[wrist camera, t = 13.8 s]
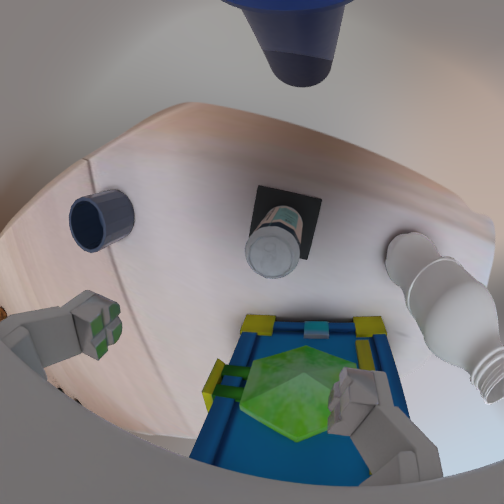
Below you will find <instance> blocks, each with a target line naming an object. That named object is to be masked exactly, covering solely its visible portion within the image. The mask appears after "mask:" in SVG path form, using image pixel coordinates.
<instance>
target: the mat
mask: <svg viewBox="0 0 504 504" xmlns="http://www.w3.org/2000/svg"><path fill="white" fill-rule="evenodd" d="M321 202H322V199H318V198H314V197H310V196H306V195H301V194H297V193H292V192H288V191H283V190H279V189H274V188H269V187H264V186H258V188H257V194H256V200H255V205H254V211H253V216H252V222H251V228H250V233H249V237H250V236H251V235H252V233H253V232H254V231H255V229H256V228H257V227H258V225H259V224H260V223H261V221H262V220H263V219H264V217H265V216H266V215H267V213H268V212H269V211H270V210H271V209H273V208H275V207H278V206H288V207H291V208H293V209H294V210H296V211H297V212H298V213H299V215H300V216H301V219H302V222H303V227H302V235H301V245H300V257H299V258H301V259H305V260H307V259H308V255H309V251H310V247H311V243H312V239H313V235H314V231H315V227H316V223H317V219H318V215H319V210H320V206H321Z"/></svg>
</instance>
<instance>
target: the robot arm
mask: <svg viewBox="0 0 504 504" xmlns="http://www.w3.org/2000/svg"><path fill="white" fill-rule="evenodd" d="M120 313H121V312H120V305H119V304H118V303H117V302H115V301H113V300H110V299H108V298H106V297H104V296H101V295H99V294H97V293H94V292H92V291H90V290H85V291H83V292H82V293H81V294H79V295H78V296H76V297H75V298H73V299H72V300H70V301H69V302H68V303H66V304H65V305H63V306H62V307H61V308H60V307H59V306H57V307H51V308H46V309H40V310H35V311H29V312H24V313H18V314H12V315H10V316H8V317H7V318H5V319H4V320H3V321H1V322H0V504H504V460H501V461H498V462H496V463H493V464H490V465H487V466H484V467H481V468H478V469H474V470H471V471H468V472H464V473H460V474H456V475H452V476H447V477H443V472H442V468H441V462H440V458H439V453H438V449H437V447H436V446H435V445H434V444H433V443H432V442H431V441H430V440H429V439H428V438H427V437H426V436H425V434H424V433H423V432H422V431H421V430H420V429H419V428H418V427H417V426H416V425H415V424H414V423H413V422H412V421H411V420H410V419H409V418H408V417H407V416H406V415H405V414H404V413H403V412H402V411H401V410H400V409H399V407H396V406H394V404H393V400H392V395H391V391H390V387H389V383H388V379H387V375H386V373H385V372H382V371H373V370H371V371H370V370H363V369H356V368H350V367H344V368H343V369H342V370H341V372H340V374H339V381H338V382H336V383H334V385H333V387H332V389H331V391H330V394H329V398H328V409H329V411H330V412H331V414H330V415H329V417H328V422H327V433H328V434H335V435H344V436H351V437H350V438H351V440H352V441H353V443H354V445H355V446H356V448H357V450H358V451H359V453H360V455H361V456H362V458H363V460H364V461H365V463H366V465H367V466H368V468H369V470H370V471H371V473H372V475H371V476H370V477H369V478H367V479H366V480H365V481H363V482H362V483H361V484H360V485H359V486H324V485H311V484H301V483H293V482H286V481H279V480H273V479H267V478H262V477H257V476H252V475H248V474H243V473H239V472H235V471H231V470H227V469H224V468H220V467H217V466H213V465H210V464H207V463H203V462H200V461H197V460H194V459H191V458H189V457H186V456H183V455H180V454H177V453H175V452H172V451H170V450H167V449H165V448H163V447H160V446H158V445H155V444H153V443H151V442H148V441H146V440H144V439H142V438H140V437H138V436H136V435H134V434H131V433H130V432H128V431H126V430H124V429H122V428H120V427H118V426H116V425H114V424H112V423H111V422H109V421H107V420H105V419H103V418H102V417H100V416H98V415H97V414H95V413H93V412H92V411H90V410H88V409H87V408H85V407H84V406H82V405H81V404H79V403H77V402H76V401H74V400H73V399H71V398H70V397H69V396H67V395H66V394H64V393H63V392H61V391H60V390H59V389H57V388H56V387H55V386H53V385H52V384H51V383H49V382H48V381H47V375H46V373H45V370H44V367H47V366H50V365H52V364H55V363H58V362H60V361H63V360H66V359H68V358H71V357H73V356H76V355H78V354H81V353H84V354H86V355H88V356H90V357H92V358H94V359H96V360H98V361H99V359H100V358H101V357H102V356H103V355H104V354H105V353H106V352H107V351H108V346H109V345H112V344H115V343H116V342H117V341H118V340H119V337H120V335H121V333H122V322H121V320H120V318H119V317H118V315H119V314H120Z"/></svg>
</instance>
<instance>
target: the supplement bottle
mask: <svg viewBox="0 0 504 504" xmlns="http://www.w3.org/2000/svg"><path fill="white" fill-rule="evenodd" d="M302 227H303V222H302V219H301V216H300V215H299V213H298V212H297V211H296V210H294V209H293V208H291V207H288V206H278V207H275V208H273V209H271V210H270V211H269V212H268V213H267V215H266V216H265V217H264V219H263V220H262V221H261V223H260V224H259V225H258V227H257V228H256V229H255V231H254V232H253V233H252V235H251V236H250V237H249V239H248V241H247V243H246V247H245V256H246V259H247V262H248V264H249V266H250V267H251V268H252V270H253V271H254V272H256V273H257V274H259V275H261V276H263V277H265V278H272V279H276V278H281V277H284V276H286V275H288V274H289V273H291V272H292V271H293V270H294V269H295V267H296V266H297V264H298V262H299V257H300V245H301V235H302Z"/></svg>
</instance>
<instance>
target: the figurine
mask: <svg viewBox="0 0 504 504" xmlns="http://www.w3.org/2000/svg"><path fill="white" fill-rule="evenodd" d="M6 317H7V314H6V312H5V311H4V309H2V308H1V307H0V321H1V320H3V319H5V318H6Z"/></svg>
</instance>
